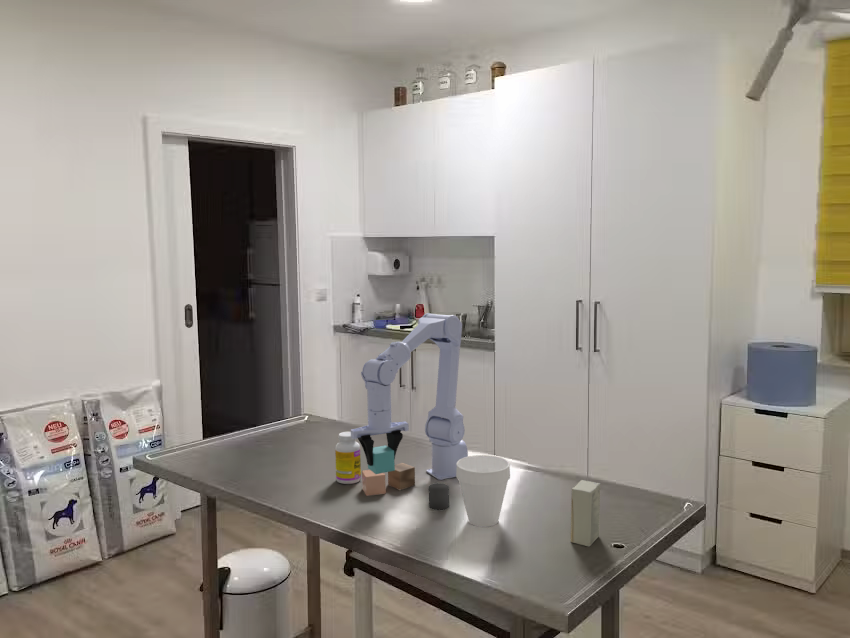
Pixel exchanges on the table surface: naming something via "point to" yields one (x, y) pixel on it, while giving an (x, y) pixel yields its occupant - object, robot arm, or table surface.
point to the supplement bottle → (347, 459)
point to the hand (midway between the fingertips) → (380, 462)
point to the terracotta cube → (373, 483)
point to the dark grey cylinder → (438, 496)
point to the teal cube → (382, 460)
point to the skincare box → (585, 512)
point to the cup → (483, 487)
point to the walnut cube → (402, 476)
